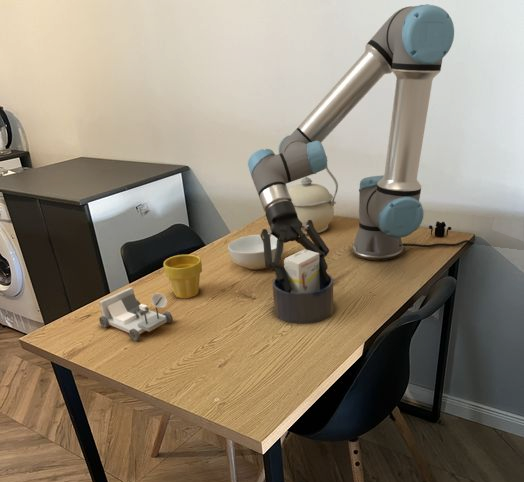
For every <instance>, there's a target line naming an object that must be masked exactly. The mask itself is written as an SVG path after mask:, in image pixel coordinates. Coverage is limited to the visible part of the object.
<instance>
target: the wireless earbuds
mask: <svg viewBox="0 0 524 482" xmlns="http://www.w3.org/2000/svg"><path fill="white" fill-rule="evenodd" d="M446 226H447V225H446V222H445V221H441V222H440V221H436V222H435V227H433V225H428V229H429V230H430V236H434V237H436V238H443V237H448V236H449V231H451V230H452V226H447V228H446ZM433 231H434V235H433ZM445 233H446V234H445ZM445 235H446V236H445Z"/></svg>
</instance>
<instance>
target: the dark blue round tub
mask: <svg viewBox="0 0 524 482" xmlns="http://www.w3.org/2000/svg"><path fill="white" fill-rule="evenodd" d="M327 274H328V277H329V280H330V281H329V282H328V283H327V284H326V285H323V283H322V280H321V277H320V290H319V291H315V292H309V293H290V292H286V291H285V289H284V286H283V283H282V281H280V282H279V281H278V279H277V276H276V277H275V278H273V280H272V283H271V284H272V293H273V294H272V296H273V309H274V314H275V316H276V317H277V318H278V319H280V320H282V321H284V322H287V323H291V324H313V323H318V322H320V321H323V320H325V319H327V318H329V317H330V316H331V315H332V314H333V313H334V278H333V276H332V275H331V274H329V273H328V272H327Z"/></svg>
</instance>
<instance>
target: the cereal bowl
mask: <svg viewBox="0 0 524 482" xmlns="http://www.w3.org/2000/svg"><path fill="white" fill-rule="evenodd" d="M260 235H261V233H260V234H250V235H245V236H241V237H238V238H236V239H233V240H231V241H230V242H229V243H228V245H227V251H228V255H229V257H230V259H231V260H232V261H233V262H234V264H236V265H238V266H241V267H244V268H246V269H248V270H262V269H266V268H265V258H264V246H263V241H262V238H261V236H260ZM270 243H271V254H272V262H274V258H275V252H276V247H277V246H276V245H277V238H276V237H274V236H273V235H272V234H271V237H270ZM284 244H285V243H283V249H282V255H281V257H282V256H283V254H284V251H285V245H284Z"/></svg>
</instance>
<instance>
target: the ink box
mask: <svg viewBox="0 0 524 482" xmlns="http://www.w3.org/2000/svg"><path fill="white" fill-rule="evenodd" d="M283 263H284V264H283V265H284V268H285V271H286V273H287V276H288V279H289V282H290V285H291V287H292V290H291V292H290V293H309V292H315V291H319V290H320V273H319V253H317V252H313V251H310V250H306V249H305V248H304V249H301V250H300V251H297V252H295V253H293V254H291V255H289V256H288V257H285V258H284V260H283Z"/></svg>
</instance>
